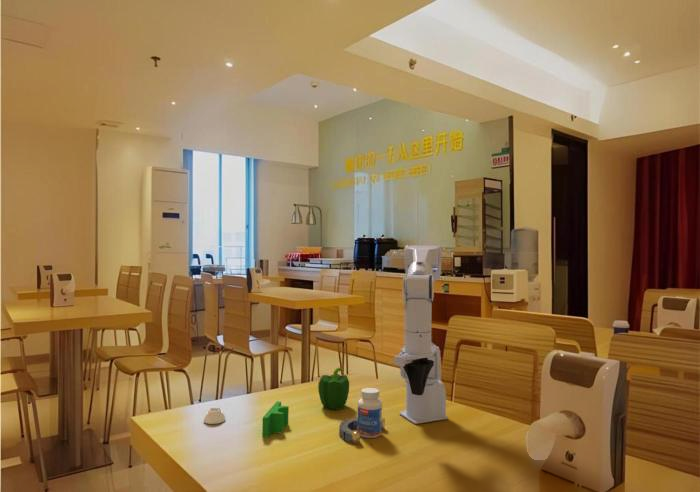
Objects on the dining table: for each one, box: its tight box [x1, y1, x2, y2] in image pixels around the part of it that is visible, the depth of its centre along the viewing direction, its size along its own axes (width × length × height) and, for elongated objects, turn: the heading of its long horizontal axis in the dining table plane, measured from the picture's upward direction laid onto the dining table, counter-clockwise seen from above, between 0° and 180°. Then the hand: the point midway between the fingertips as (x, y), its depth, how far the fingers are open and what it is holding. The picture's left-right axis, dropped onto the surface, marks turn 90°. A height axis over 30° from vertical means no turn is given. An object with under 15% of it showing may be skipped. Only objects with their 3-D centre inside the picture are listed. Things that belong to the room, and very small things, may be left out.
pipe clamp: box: [261, 400, 290, 439], centre depth 107 cm, size 11×4×5 cm, turn 173°
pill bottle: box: [356, 387, 383, 439], centre depth 104 cm, size 6×5×10 cm
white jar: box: [203, 406, 227, 425], centre depth 111 cm, size 5×3×5 cm
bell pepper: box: [317, 366, 350, 410], centre depth 122 cm, size 8×8×10 cm
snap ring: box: [338, 416, 386, 445], centre depth 105 cm, size 8×12×2 cm, turn 143°
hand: (417, 394), depth 99 cm, fingers closed
